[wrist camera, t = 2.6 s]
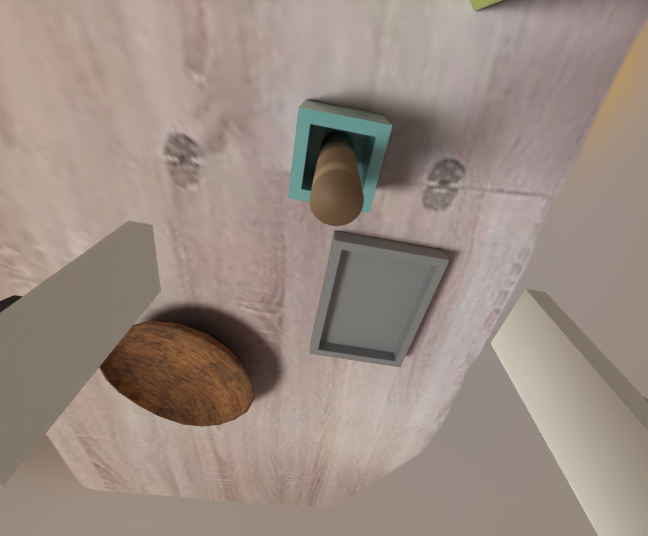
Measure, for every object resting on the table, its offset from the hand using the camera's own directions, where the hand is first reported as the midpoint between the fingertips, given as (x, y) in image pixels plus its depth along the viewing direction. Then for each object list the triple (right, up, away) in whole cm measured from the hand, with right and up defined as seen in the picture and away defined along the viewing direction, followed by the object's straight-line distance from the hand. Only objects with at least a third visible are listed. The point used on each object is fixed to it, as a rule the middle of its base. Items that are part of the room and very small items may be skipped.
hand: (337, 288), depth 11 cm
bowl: (-21, -13, +37) cm, 44 cm away
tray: (+6, -3, +30) cm, 31 cm away
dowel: (+1, +12, +19) cm, 23 cm away
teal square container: (+1, +13, +20) cm, 24 cm away
